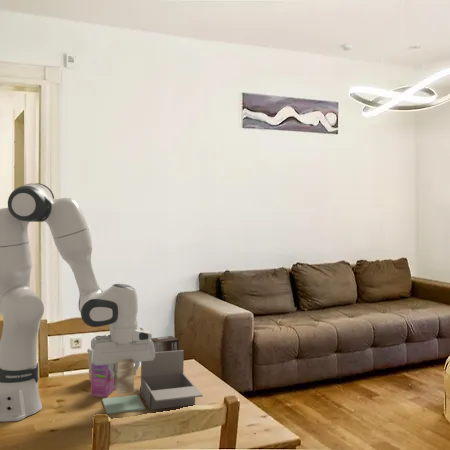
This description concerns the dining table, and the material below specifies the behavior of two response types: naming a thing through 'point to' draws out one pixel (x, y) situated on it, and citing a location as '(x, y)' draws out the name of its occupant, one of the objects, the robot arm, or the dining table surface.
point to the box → (101, 381)
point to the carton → (167, 381)
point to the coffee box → (166, 344)
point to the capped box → (124, 376)
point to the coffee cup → (89, 361)
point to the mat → (123, 404)
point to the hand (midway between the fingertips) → (123, 376)
